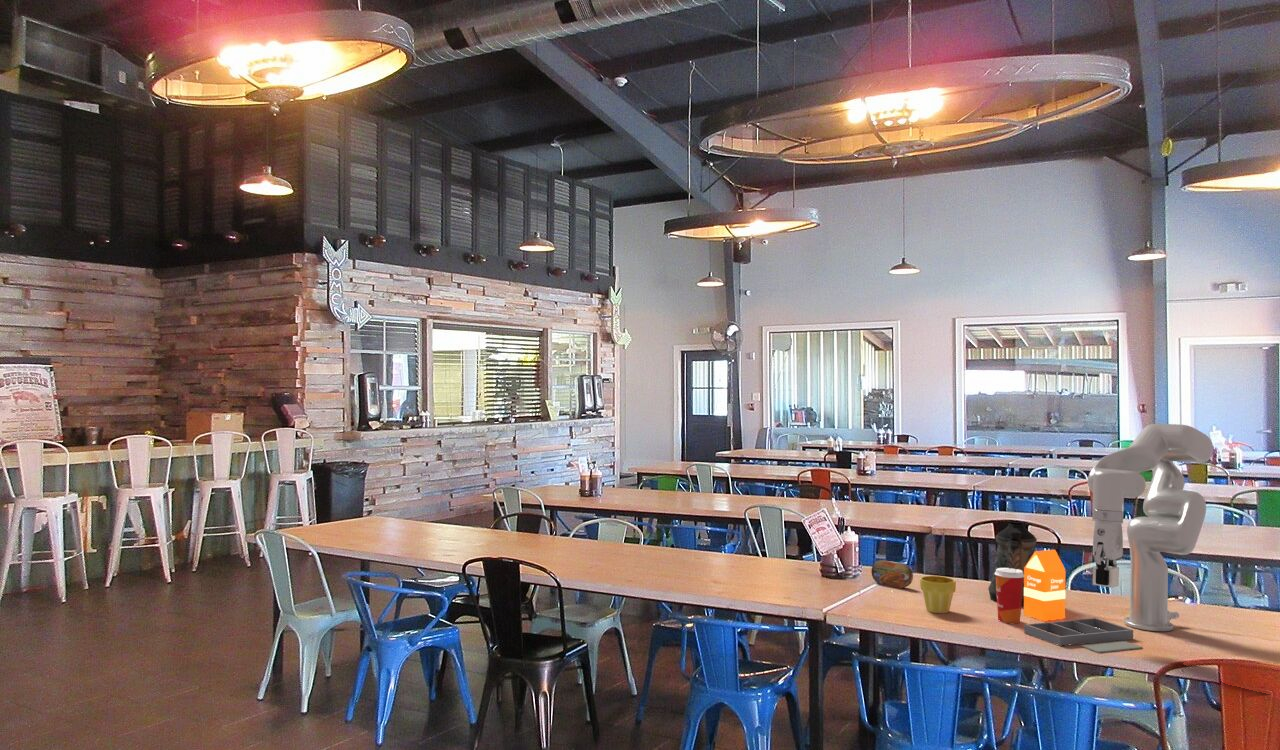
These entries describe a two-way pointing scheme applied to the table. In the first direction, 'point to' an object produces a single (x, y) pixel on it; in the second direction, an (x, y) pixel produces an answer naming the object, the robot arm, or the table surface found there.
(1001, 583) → the coffee cup
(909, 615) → the table surface
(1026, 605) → the orange juice
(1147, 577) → the robot arm
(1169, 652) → the table surface
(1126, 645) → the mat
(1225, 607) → the table surface
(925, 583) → the plant pot
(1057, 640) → the sorting box
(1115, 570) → the letter cube
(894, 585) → the tin
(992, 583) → the dark ornate vase
